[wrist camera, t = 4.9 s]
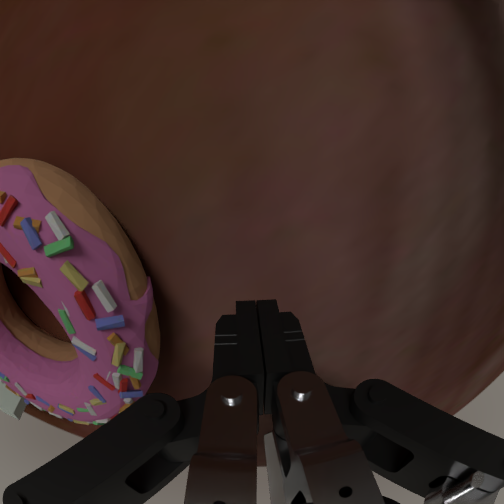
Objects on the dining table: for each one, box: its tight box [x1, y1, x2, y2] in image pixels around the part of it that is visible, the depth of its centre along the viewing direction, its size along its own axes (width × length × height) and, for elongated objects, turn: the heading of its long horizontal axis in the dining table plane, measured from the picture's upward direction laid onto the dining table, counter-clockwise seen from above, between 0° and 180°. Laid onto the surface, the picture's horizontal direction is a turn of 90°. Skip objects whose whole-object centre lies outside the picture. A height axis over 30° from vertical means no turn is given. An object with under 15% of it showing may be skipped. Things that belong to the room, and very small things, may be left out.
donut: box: [0, 158, 160, 425], centre depth 9 cm, size 14×14×5 cm
